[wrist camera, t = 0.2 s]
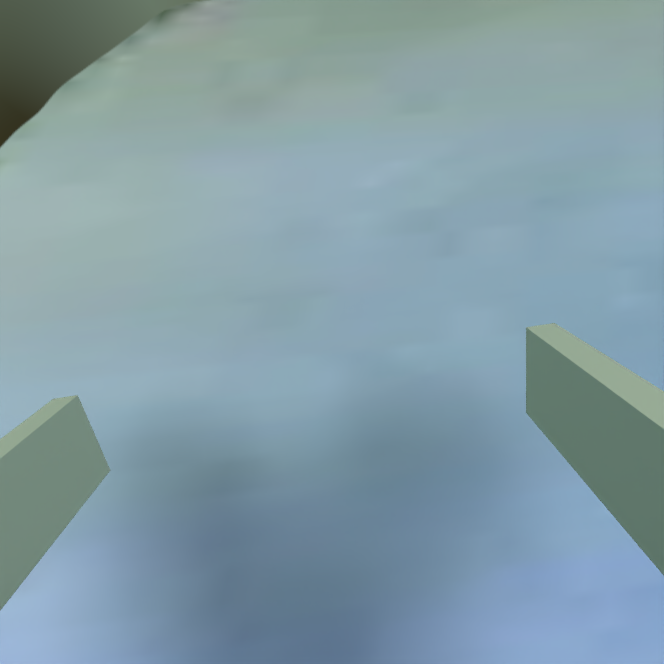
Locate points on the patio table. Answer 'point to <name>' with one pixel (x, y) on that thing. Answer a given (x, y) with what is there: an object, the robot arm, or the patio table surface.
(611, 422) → the robot arm
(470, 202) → the patio table surface
